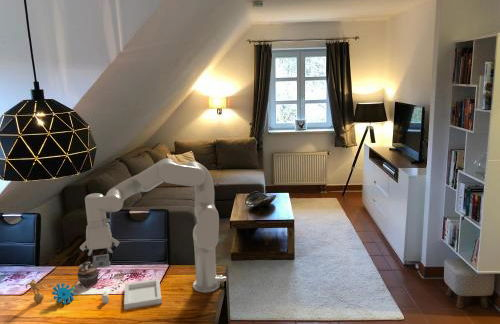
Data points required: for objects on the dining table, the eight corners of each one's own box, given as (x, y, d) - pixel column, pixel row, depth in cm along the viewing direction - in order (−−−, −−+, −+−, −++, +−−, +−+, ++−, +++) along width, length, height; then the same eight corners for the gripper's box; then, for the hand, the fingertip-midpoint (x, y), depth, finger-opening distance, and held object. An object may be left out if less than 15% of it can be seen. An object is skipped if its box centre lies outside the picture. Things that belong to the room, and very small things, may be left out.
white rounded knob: (109, 299, 179) (108, 291, 178) (108, 303, 176) (108, 295, 175) (102, 300, 178) (101, 292, 177) (102, 304, 175) (101, 296, 174)
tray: (159, 283, 191) (159, 278, 191) (161, 303, 175) (161, 298, 174) (125, 288, 187) (125, 283, 187) (124, 309, 171) (124, 304, 170)
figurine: (50, 299, 180) (47, 274, 177) (43, 307, 174) (39, 281, 171) (33, 298, 180) (29, 274, 178) (24, 306, 174) (20, 281, 172)
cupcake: (73, 285, 191) (71, 266, 189) (88, 276, 200) (86, 257, 197) (89, 289, 187) (86, 270, 185) (104, 279, 196) (101, 260, 194)
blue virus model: (61, 306, 171) (49, 287, 173) (54, 313, 173) (42, 294, 175) (81, 296, 181) (69, 278, 184) (74, 303, 183) (63, 285, 186)
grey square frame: (110, 259, 177) (110, 253, 176) (109, 267, 169) (108, 262, 169) (94, 261, 175) (93, 255, 175) (92, 270, 167) (91, 264, 167)
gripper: (119, 217, 174) (122, 255, 178) (76, 222, 170) (81, 260, 174) (118, 223, 167) (122, 262, 171) (73, 228, 163) (79, 268, 167)
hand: (101, 261), depth 173 cm, fingers closed on grey square frame, 6 cm apart
